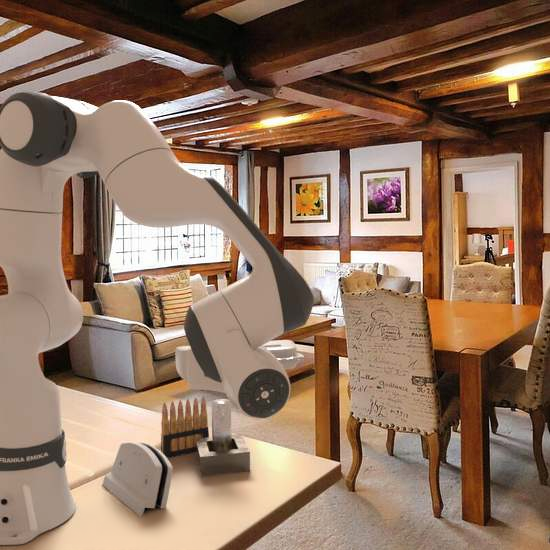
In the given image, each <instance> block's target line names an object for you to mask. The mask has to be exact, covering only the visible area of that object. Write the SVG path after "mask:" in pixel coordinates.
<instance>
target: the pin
mask: <svg viewBox="0 0 550 550" xmlns="http://www.w3.org/2000/svg"><path fill="white" fill-rule="evenodd" d="M231 435H232V403H231V401H230V400H229V399H228V398H227V399H226V398H218V399H215V400H212V401H211V437H212V452H214V451H224V450H232V437H231Z"/></svg>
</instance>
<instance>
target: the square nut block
mask: <svg viewBox="0 0 550 550" xmlns="http://www.w3.org/2000/svg"><path fill="white" fill-rule="evenodd" d="M231 437H232V450H224V451H214V452H212V436H209V437H207V438H201V437H200V438H197V439H196V452H195V458H196V462H197V466H198V471H199V475H200V477H207V476H216V475H217V474H218V475H225V474H232V473H233V474H236V473H242V472H250V471H251V451H250V449H249V447H248V444H247V443H246V441H245V439H244V436H243V433H240V434H231Z"/></svg>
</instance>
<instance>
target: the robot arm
mask: <svg viewBox="0 0 550 550" xmlns="http://www.w3.org/2000/svg"><path fill="white" fill-rule="evenodd" d="M0 148H1V149H0V268H1V269H2V270H3V272H4V275H5V278H6V281H7V288H8V291H7V294H3V295H0V546H6V545H7V546H9V545H13V546H15V545H23V544H27V543H28V542H30V541H32V540H33V539H35V538H37V537H38V536H39V535H41V534H43V533H45V532H47V531H50V530H52V529H54V528H56V527H58V526H61V524H64V523H65V522H66V521H67V520H69V519H70V518H71V517H72V516H73V515H74V513H75V511H76V509H77V508H76V507H77V505H76V502H75V500H74V498H73V495H72V492H71V488H70V484H69V480H68V474H67V471H66V463H67V458H68V457H67V441H66V440H67V439H66V437H65V436H66V435H65V431H64V429H63V426H62V408H61V407H62V404H61V392H60V389H59V386H58V385H57V384H56V383H55V382H54V381H52V380H50V379H48V378H47V377H45V375H44V373H43V371H42V368H41V365H40V360H39V354H42V353H44V352H47V351H50V350H53V349H56V348H59V347H60V346H62V345H63V344H65V343H66V342H68V341H69V340H70V339H72V338H74V336H75V335H77V334H78V332H79V331H80V330H81V328H82V327H83V326H82V325H83V323H84V322H83V321H84V312H83V307H82V305H81V303H80V301H79V298H77V297H76V296H75V295H74V294H73V293H72V292H71V290H70V288H69V286H68V282H67V280H66V277H65V272H64V268H63V262H62V233H63V232H62V229H63V211H64V207H63V206H64V191H65V185H66V182H68V180H69V179H70V178H71V177H72V176H75V175H76V176H77V177H79V178H81V179H87V178H90V177H93V176H98V175H99V176H100V178H101V180H102V182H103V184H104V187H105V188H106V190H107V193H108V194H109V195H110V197H111V199H112V200H113V202H114V203H115V205H116V206H117V208H118V209H119V210H120V212H121V213H122V215H123V216H124V217H125V218H127V219H128V220H129V221H131V222H133V223H136V224H137V225H140V226H145V227H147V228H148V227H149V228H172V227H173V228H174V227H180V226H189V225H191V226H192V225H207V226H211V227H214V228H217V229H219V230H220V231H221V232H223V233H224V234H225V236H226V237H228V239H229V240H230V241H231V243H233V245H234V246H235V247H236V249H237V250H238V251H239V252H240V254H241V255H242V256H243V257H244V258H245V260H246V261H247V262H248V264H249V265H250V266H251V267H252V268H253V270H252V272H251V273H249V274H248V275H245V276H244V277H242V278H240V279H239V280H237V281H235V282H233V283H231V284H229V285H228V286H226V287H223V288H222V289H220V290H217V291H215V292H213V293H211V294H210V295H207V296H206V297H205V296H204V298H201V299H200V300H198V301H196V302H194V303H193V304H191V305H189V307H188V309H187V311H186V314H185V319H184V324H183V331H184V333H185V336H186V340H187V342H188V344H189V345H183V346H177V347H175V350H174V353H175V356H174V357H175V368H176V372H177V373H178V375H179V377H180V378H181V379H183V380H184V381H187V384H188V385H187V386H188V389H190V390H194V391H210V392H211V391H212V392H219V393H222V394H225V395H226V396H227V399H228V400H230V401H231V405H233V406H234V408H236V410H238V412H240V413H241V414H243V415H244V416H246V417H248V418H251V419H254V420H255V419H256V420H263V419H267V418H270V417H272V416H275V415H277V413H279V412H280V411H282V409H284V407H285V406H286V404H287V403H288V401H289V398H290V396H291V395H290V394H291V382H290V378H289V375H288V373H287V370H292V369H295V368H296V367H297V366H298V364H299V363H303V362H305V359H306V358H305V356H304V354H301V353H299V352H297V351H298V350H297V348H298V347H297V345H296V344H295V342H294V341H293V340H290V339H282V340H281V339H278V340H275V339H276V338H278V337H280V336H282V335H287V333H288V334H289V333H290V332H293V331H296V330H297V329H300V328H301V327H303V326H305V325H306V324H307V322H308V321H309V318H310V316H311V313H312V310H313V307H314V303H315V297H314V293H313V292H312V289H311V287H310V285H309V283H308V281H307V280H306V278H305V277H304V276H303V275H302V274H301V272H300V271H299V270H298V269H297V268H296V267H294V266H293V264H291V263H292V262H290V261H289V260H288V259H287V258H286V257H285V256H284V255H283V254H281V252H280V251H279V250H278V249H277V247H275V245H274V244H273V243H272V242H271V240H270V239H269V238H268V237H267V236H266V235H265V234H264V232H263V231H262V230H261V229H260V228H259V227H258V225H257V224H256V223H255V222H254V220H253V219H252V218H251V217H250V216H249V215H248V213H247V212H246V210H244V209H243V208H242V206H241V205H240V204H239V202H237V200H236V199H235V198H234V197H233V196H232V195H231V194H230V193H229V192H228V190H227V189H226V188H225V187H224V186H223V185H222V184H221V183H220V182H219V181H218V180H217V179H215V178H213V177H212V176H211V175H208V174H207V175H206V174H198V173H196V172H193V170H191V169H188V168H187V167H186V166H185V165H183V163H182V162H180V161H179V159H178V158H177V156H176V155H175V153H174V151H173V150H172V149H171V146H170V145H169V143H168V141H167V140H166V138H165V137H164V136H163V134H162V133H161V131H160V130H159V128H158V127H157V126H156V124H155V123H154V122H153V121H152V119H151V118H150V117H149V115H147V114H146V112H145V111H144V110H142V108H141V107H140V106H139V105H137V104H135V103H134V102H132V101H129V100H111V101H109V102H106V103H104V104H102V105H100V106H95V105H93V104H90V103H87V102H85V101H81V100H80V99H74V98H66V97H60V96H54V95H53V96H52V95H49V94H47V93H44V92H41V91H39V92H38V91H22V92H21V91H20V92H16V93H14V94H11V95H10V96H8V98H6V99H5V100H4V102H3V103H2V104H1V106H0Z"/></svg>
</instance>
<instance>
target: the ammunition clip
mask: <svg viewBox="0 0 550 550" xmlns="http://www.w3.org/2000/svg"><path fill="white" fill-rule="evenodd" d="M198 401H199V400H198V398H197V397H194V399H193V404H192V407H191V403H190V400H189V398H187V399H186V401H185V412H184V406H183V403H182V402H183V401H182V400H181V399H179V401H178V404H177V414H176V406H175V402H174V400H172V401H171V403H170V407H169V411H168V406H167V404H166V402H163V404H162V409H161V421H160V422H161V425H160V426H161V434H160V436H161V437H160V440H161V441H160V451H161V452H162V453H163V454H164V455H165V456H166V457H167V459H168V458H169V459H170V458H174V457H179V456H185V455H189V454H192V453H193V454H194V453H196V439H197V438H207V437H210V433H209V427H208V426H209V425H208V424H209V422H208V412H207V403H206V402H207V401H206V398H205V396H202V397H201V401H200V408H199V402H198ZM191 408H192V410H191ZM199 409H200V410H199ZM168 412H169V413H168ZM184 413H185V414H184Z"/></svg>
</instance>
